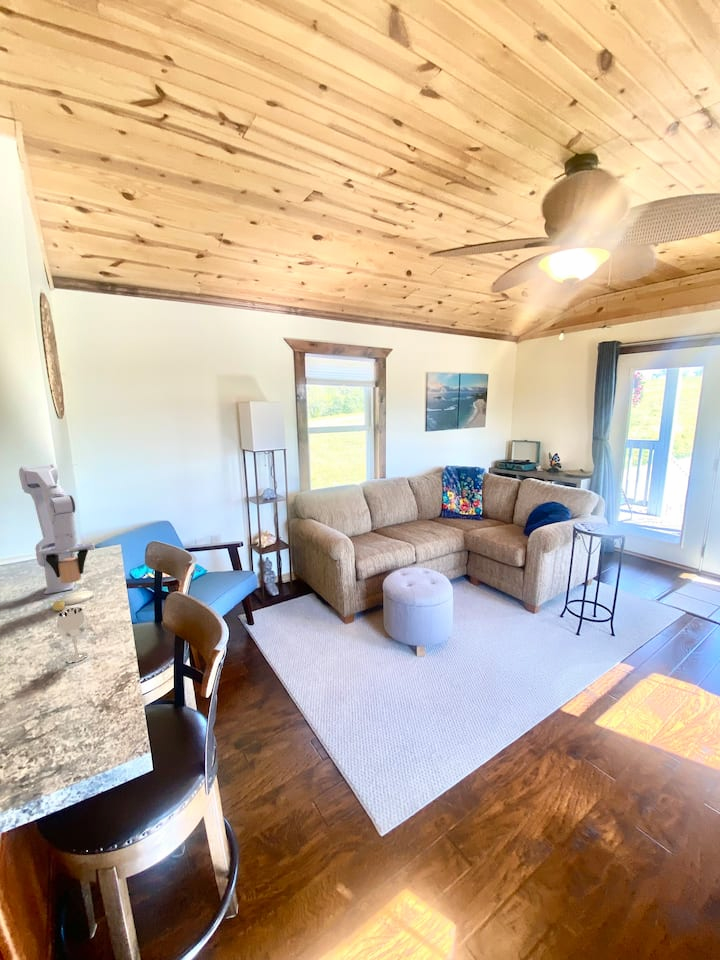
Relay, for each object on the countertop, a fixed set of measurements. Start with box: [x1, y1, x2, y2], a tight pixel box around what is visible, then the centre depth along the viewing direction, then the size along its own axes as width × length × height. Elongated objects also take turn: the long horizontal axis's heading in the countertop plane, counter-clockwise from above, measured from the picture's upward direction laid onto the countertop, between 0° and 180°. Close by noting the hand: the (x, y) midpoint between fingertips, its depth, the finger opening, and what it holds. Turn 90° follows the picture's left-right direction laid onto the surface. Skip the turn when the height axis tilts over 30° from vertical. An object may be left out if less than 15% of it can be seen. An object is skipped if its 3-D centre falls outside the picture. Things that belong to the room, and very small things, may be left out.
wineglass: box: [56, 606, 89, 661], centre depth 96 cm, size 6×6×12 cm
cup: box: [58, 556, 83, 583], centre depth 128 cm, size 6×6×7 cm
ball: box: [52, 600, 66, 612], centre depth 123 cm, size 3×3×3 cm
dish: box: [59, 590, 94, 606], centre depth 131 cm, size 9×9×1 cm
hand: (70, 574), depth 129 cm, fingers closed on cup, 5 cm apart
